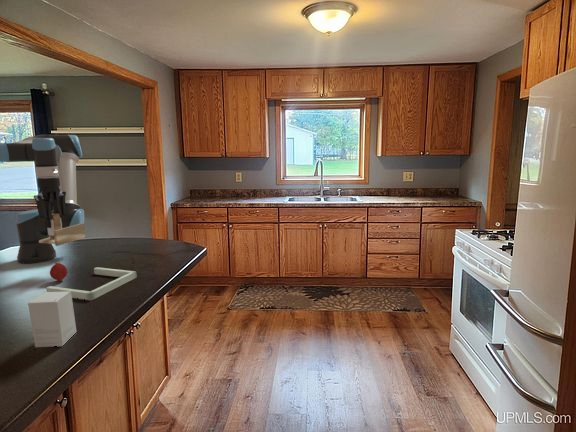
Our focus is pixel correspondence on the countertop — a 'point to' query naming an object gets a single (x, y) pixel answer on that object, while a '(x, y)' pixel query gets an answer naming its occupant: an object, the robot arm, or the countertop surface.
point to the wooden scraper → (64, 232)
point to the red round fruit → (58, 271)
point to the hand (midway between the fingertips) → (55, 234)
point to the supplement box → (52, 318)
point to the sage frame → (90, 295)
